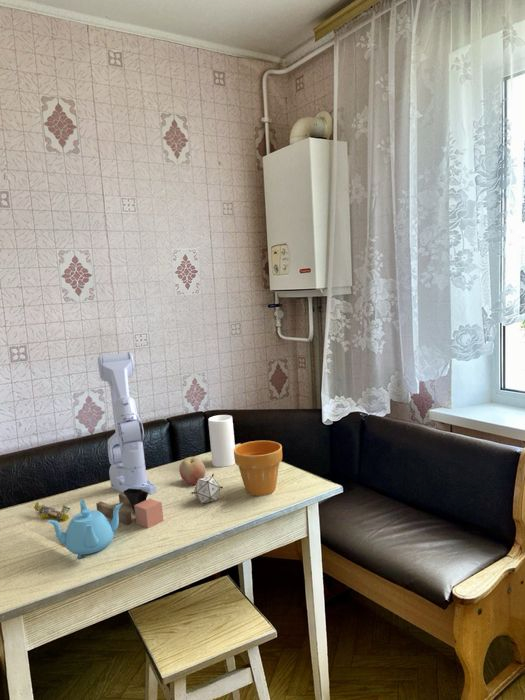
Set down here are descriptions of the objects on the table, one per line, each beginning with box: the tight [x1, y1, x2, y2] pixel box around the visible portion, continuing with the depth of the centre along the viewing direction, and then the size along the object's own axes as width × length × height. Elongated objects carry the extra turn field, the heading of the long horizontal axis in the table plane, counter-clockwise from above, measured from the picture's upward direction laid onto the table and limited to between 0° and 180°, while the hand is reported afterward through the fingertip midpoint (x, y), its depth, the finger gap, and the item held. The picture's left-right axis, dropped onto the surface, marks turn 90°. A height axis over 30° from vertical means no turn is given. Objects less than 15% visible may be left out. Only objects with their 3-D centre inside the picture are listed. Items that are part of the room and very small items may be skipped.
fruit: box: [179, 456, 206, 485], centre depth 169 cm, size 8×8×8 cm
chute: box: [96, 492, 133, 526], centre depth 148 cm, size 14×9×4 cm, turn 50°
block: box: [134, 498, 164, 529], centre depth 140 cm, size 5×5×5 cm
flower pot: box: [234, 440, 283, 497], centre depth 158 cm, size 14×14×13 cm
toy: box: [33, 501, 71, 523], centre depth 151 cm, size 5×5×15 cm
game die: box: [190, 473, 224, 505], centre depth 152 cm, size 9×8×10 cm
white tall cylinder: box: [207, 414, 236, 468], centre depth 184 cm, size 8×8×16 cm
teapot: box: [47, 499, 123, 560], centre depth 130 cm, size 13×13×10 cm
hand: (139, 514), depth 143 cm, fingers closed
